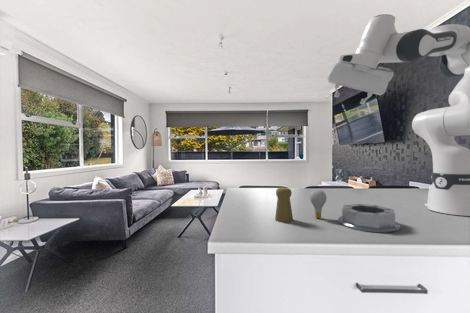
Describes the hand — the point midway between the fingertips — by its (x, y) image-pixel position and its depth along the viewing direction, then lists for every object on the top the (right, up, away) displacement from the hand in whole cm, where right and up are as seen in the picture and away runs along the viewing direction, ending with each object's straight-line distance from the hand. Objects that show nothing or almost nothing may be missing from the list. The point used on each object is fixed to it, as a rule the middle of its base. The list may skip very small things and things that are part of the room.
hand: (348, 100), depth 88 cm
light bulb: (-14, -43, -7) cm, 46 cm away
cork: (-26, -43, -9) cm, 51 cm away
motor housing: (-1, -42, -14) cm, 45 cm away
